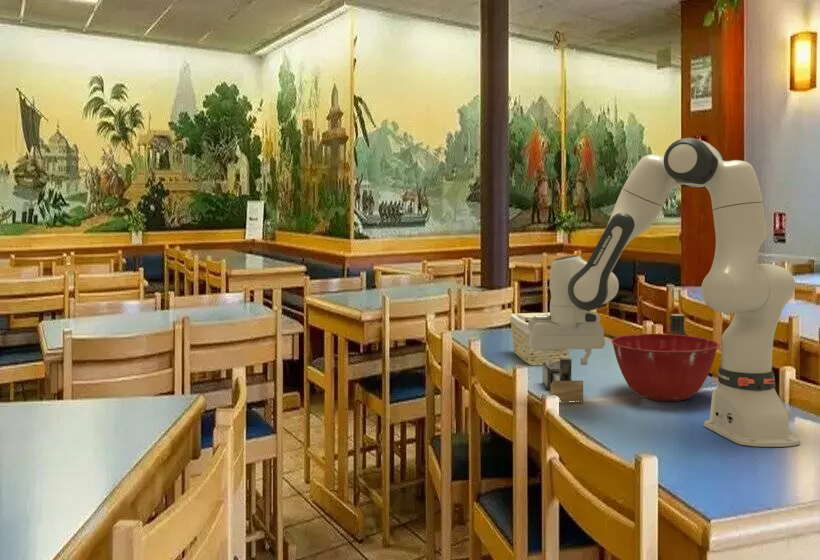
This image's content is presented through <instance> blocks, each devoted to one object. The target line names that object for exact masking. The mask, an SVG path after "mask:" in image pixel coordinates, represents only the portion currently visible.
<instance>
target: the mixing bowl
mask: <svg viewBox="0 0 820 560" xmlns="http://www.w3.org/2000/svg"><path fill="white" fill-rule="evenodd" d="M610 341H611V343H612V346H613V351H614V354H615V357H616V361H617V365H618V367H619V369H620V371H621V375H622V376H623V378H624V380H625V382H626V384H627V385H628V387H629V388H630V389H631V390H632V391H633V392H634V393H636V394H638V396H639V397H641V396H642V397H641V398H643V399H647V400H653V401H661V402H677V401H684V400H687V399H689V398H690V397H692V396H694V395H695V394H697V392H699V391H700V389H701V388H702V386H703V385H704V383H705V382H706V379H707V377H708V376H709V374H710V372H711V368H712V366H713V364H714V361H715V358H716V355H717V352H718V348H719V347H720V343H719V342H717V341H715V340H713V339H710V338H709V339H708V338H705V337H701V336H700V337H699V336H693V335H692V336H691V335H686V336H685V335H672V334H668V333H639V334H637V333H636V334H628V335H621V336H620V335H619V336H616V337H613V338H612V339H611V340H610Z"/></svg>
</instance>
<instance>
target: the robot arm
mask: <svg viewBox="0 0 820 560" xmlns="http://www.w3.org/2000/svg"><path fill="white" fill-rule="evenodd" d="M678 186H680V187H685V188H686V187H688V188H695V189H705V188H706V189H707V190H708V193H709V195H710V199H711V207H712V215H713V216H712V217H713V224H714V233H715V234H714V235H715V252H714V256H713V261H712V264H711V267H710V270H709V272H708V273H707V274H706V275H705V277H704V278H703V281H702V283H701V287H700V291H701V296H702V299H703V302H704V303H705V304H706V306H707V307H709V308H710V309H712V310H713V311H716V312H721V313H727V314H733V315H734V316H733V318H732V320H731V322H730V324H729V325H728V327H727V328H726V329H725V330H724V332H722V333H723V334H722V335H721V349H720V351H721V352H720V353H721V354H720V356H721V357H720V366H719V367H718V371H717V376H718V379H717V381H718V383H719V384H718V386H717V387H716V388H715V390H713V391H712V395H711V401H710V402H711V403H710V412H709V419H707V420H704V422H703V426H704V427H705V428H707V429H709V430H711V431H712V432H715V433H717V434H718V435H720V436H722V437H724V438H726V439H728V440H730V441H731V442H734V443H735V444H738V445H742V446H749V447H759V448H760V447H762V448H763V447H766V448H767V447H768V448H770V447H771V448H776V447H777V448H779V447H784V448H785V447H794V446H798V445H800V444H801V439H800V438H799V437H798V436H797V435H796V434H795V432H794V431H793V430H792V429H791V428H790V427H789V426H790V425H789V423H790V421H789V420H791V418H792V410H791V408H785V406H784V404H783V400H782V399H780V397H779V395H778V393H777V391H776V389H775V388H776V379H775V373H774V370H773V369H772V368H773V366H772V365H773V347H774V340H775V339H774V338H775V333H776V331H777V330H776V329H777V327H778V324H779V320H780V317H781V316H782V315H781V314H782V312H783V310H784V308H785V306H786V305H787V303H788V302H789V301H790V300H791V299H792V297H793V296H794V293H795V291H796V290H795V289H796V283H795V282H796V281H795V279H794V276H793V274H792V273H791V272H790V271H789V270H788V269H787V268H785V267H783V266H780V265H776V264H771V263H758V260H759V253H760V248H761V246H762V244H763V243H764V242H765V241H766V238H767V235H768V229H767V222H766V216H765V208H764V202H763V200H764V199H763V196H762V190H761V186H760V182H759V180H758V177H757V173H756V171H755V168H754V167H753V166H752V164H751V163H749V162H747V161H744V160H742V159H741V160H739V159H732V160H725V157H724V156H723V154H722V152H721V151H720V150H719V149H717V148H715V147H714V146H713V145H711V143H709V142H707V141H705V140H700V139H698V138H694V137H684V138H680V139H677V140H675V141H673V142H672V143H671V144H670V145H669V146H668V148H666V151H665V152H664V155H661V154H653V153H652V154H645V155H644V156H643V157H641V158H640V159H639V161H638V162H637V164H636V165H635V166H634V167H633V169H632V171H630V174H629V176H628V177H627V179H626V181H625V183H624V184H623V186H622V189H621V190H620V193H619V195H618V197H617V200H616V202H615V203H614V208H613V209H612V212H611V215H610V217H609V220H608V222H607V225H606V227H605V229H604V231H603V233H602V235H601V237H600V238H599V241H598V242H597V244H596V246H595V248H594V250H593V251H592V253H591V255H590V257H589V259H588V260H587V261H586V260H584V259H583V258H582V257H581V256H579V255H569V256H564V257H559V258H556V259H554V260H553V261H552V263H551V266H550V271H549V291H550V295H551V296H550V302H549V313H550V316H534V317H533V318H531V319H530V320H529V321H528V322H527V323H528V329H529V331H530V338H529V346H530V347H531V349H533V350H542V353H543V355H544V356H545V358H546V364H547V366H553V360H552V359H549V358H548V356H547V354H548V350H563V349H570V350H584V352H585V354H584V356H583V357H580V365H581V366H588V359H589V358H590V357H591V354H592V350H598V349H599V350H600V349H604V347H605V345H606V341H605V340H606V339H605V337H606V336H605V331H604V327H603V326H602V324H601V323H600V321H601V315H600V314H598V313H597V312H595V311H593V310H596V309H598V308H600V307H602V305H604V304H606V303H608V302H610V301H612V300H613V299H614V298H615V297H616V296H617V295H618V293H619V291H620V290H619V289H620V281H619V279H618V277H617V275H616V274H615V273H614V272H613V270H614V268H615V266H616V264H617V263H618V260H619V259H620V257H621V255H622V253H623V251H624V250H625V248H626V247H627V246H628V245H629V243H630V242H631V241H633V240H634V239H635V238H636V237H638V236H639V235H641V234H642V233H643V232H645V231H646V230H648V229H649V228H650V227H651V226H652V224H653V223H654V222H655V220H656V219H657V217H658V216H659V214H660V213H661V210H662V209H663V207H664V205H665V202H666V200H667V198H668V197H669V195H670V193H671V192H672V191H673V189H675V188H676V187H678ZM532 319H534V320H532Z"/></svg>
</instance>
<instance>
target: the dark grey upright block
mask: <svg viewBox="0 0 820 560" xmlns="http://www.w3.org/2000/svg"><path fill="white" fill-rule="evenodd" d="M572 362H573V361H572V359H571V358H569V359H568V358H562V359H560V372H552V381H573V380H572V366H573V365H572V364H573V363H572Z"/></svg>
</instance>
